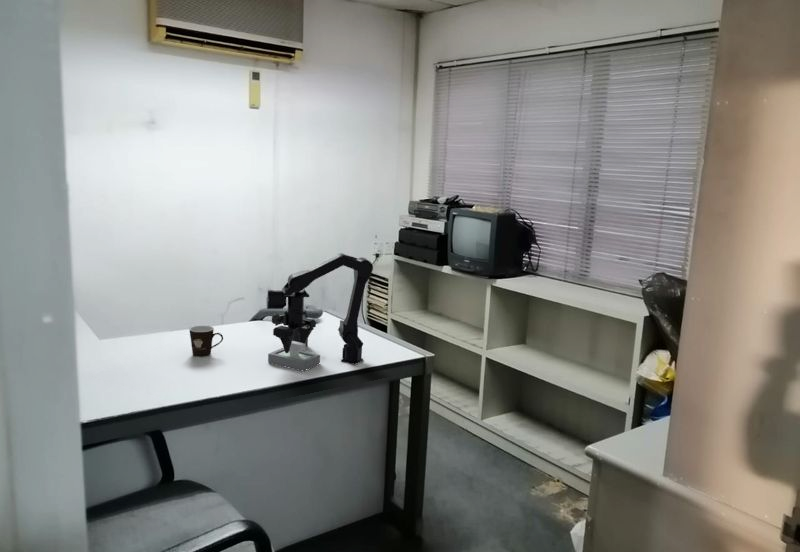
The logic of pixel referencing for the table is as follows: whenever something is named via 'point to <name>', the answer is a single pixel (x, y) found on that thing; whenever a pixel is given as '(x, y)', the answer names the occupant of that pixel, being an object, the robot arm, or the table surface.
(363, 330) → the table surface
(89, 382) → the table surface
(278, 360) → the case
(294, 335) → the supplement bottle
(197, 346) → the coffee mug
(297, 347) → the cover
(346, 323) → the robot arm
